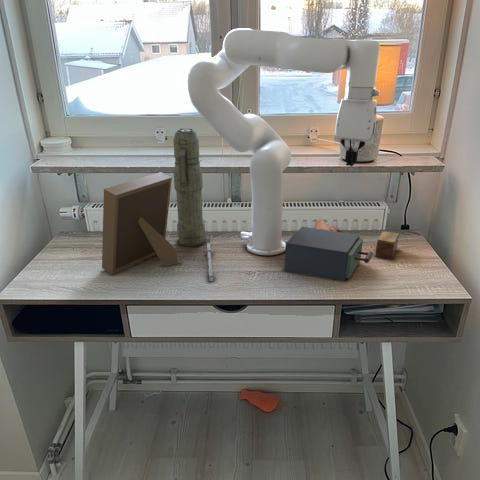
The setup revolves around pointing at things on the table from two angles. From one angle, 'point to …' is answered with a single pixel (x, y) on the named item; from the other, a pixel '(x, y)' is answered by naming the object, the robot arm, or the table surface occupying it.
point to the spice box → (387, 245)
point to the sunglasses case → (325, 226)
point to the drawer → (356, 257)
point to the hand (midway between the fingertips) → (350, 164)
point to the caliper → (209, 259)
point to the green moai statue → (188, 188)
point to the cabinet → (319, 252)
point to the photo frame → (136, 223)
